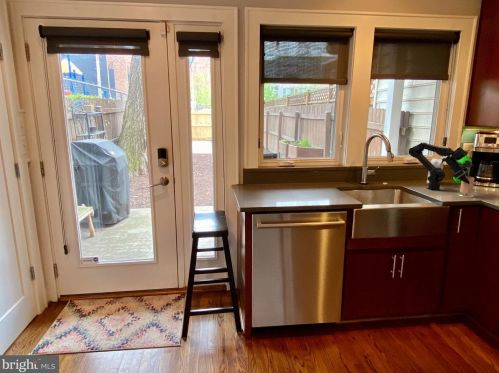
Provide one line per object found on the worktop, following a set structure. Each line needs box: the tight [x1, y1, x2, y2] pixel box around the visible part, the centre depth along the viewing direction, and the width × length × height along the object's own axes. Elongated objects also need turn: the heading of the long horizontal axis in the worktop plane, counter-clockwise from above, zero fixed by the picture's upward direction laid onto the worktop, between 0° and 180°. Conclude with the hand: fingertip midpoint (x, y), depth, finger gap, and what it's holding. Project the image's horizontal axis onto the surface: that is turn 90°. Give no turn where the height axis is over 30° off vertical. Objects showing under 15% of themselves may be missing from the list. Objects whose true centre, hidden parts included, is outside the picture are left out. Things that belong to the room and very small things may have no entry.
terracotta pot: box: [459, 176, 475, 194], centre depth 216 cm, size 6×6×10 cm
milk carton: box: [426, 158, 444, 184], centre depth 251 cm, size 7×7×19 cm
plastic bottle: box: [452, 150, 473, 184], centre depth 254 cm, size 10×10×25 cm
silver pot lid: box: [456, 192, 475, 199], centre depth 217 cm, size 10×10×5 cm
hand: (470, 182), depth 214 cm, fingers closed on terracotta pot, 6 cm apart
